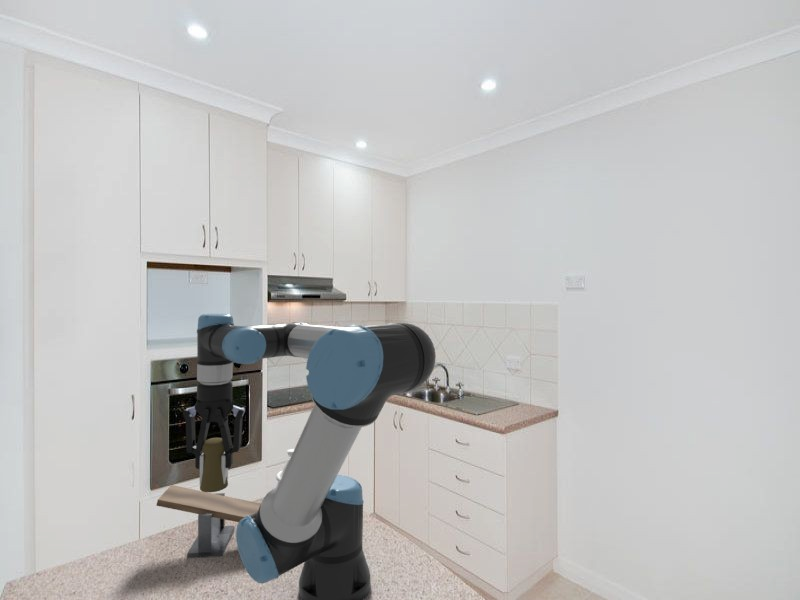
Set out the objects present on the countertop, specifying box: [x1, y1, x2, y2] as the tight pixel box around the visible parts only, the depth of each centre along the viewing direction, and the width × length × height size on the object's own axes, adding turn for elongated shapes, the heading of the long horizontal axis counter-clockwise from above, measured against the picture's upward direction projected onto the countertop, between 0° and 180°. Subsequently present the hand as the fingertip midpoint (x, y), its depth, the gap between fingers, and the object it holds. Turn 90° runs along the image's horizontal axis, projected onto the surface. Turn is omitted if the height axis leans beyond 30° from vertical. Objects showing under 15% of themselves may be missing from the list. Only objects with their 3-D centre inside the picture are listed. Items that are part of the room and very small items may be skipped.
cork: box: [199, 437, 229, 493], centre depth 102 cm, size 6×6×11 cm
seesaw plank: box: [155, 484, 261, 523], centre depth 111 cm, size 9×24×2 cm, turn 97°
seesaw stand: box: [186, 492, 236, 559], centre depth 111 cm, size 12×8×10 cm
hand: (213, 481), depth 103 cm, fingers closed on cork, 4 cm apart
